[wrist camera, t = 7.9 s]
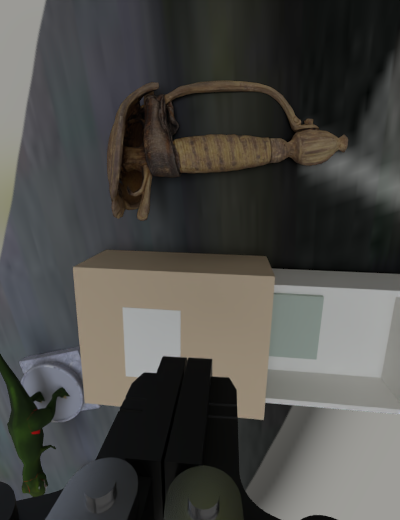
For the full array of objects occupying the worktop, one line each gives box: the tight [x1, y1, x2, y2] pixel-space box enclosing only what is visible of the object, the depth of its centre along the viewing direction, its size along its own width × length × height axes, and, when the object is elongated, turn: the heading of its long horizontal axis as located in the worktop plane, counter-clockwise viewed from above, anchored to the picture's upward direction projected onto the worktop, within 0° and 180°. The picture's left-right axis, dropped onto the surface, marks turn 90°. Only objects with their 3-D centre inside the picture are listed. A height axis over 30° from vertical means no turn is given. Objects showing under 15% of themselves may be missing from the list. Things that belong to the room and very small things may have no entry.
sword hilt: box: [107, 81, 348, 221], centre depth 31 cm, size 10×24×15 cm
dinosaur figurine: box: [0, 346, 101, 497], centre depth 39 cm, size 9×20×12 cm, turn 15°
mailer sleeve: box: [73, 250, 275, 420], centre depth 36 cm, size 16×20×8 cm
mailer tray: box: [265, 268, 400, 414], centre depth 35 cm, size 14×19×6 cm
